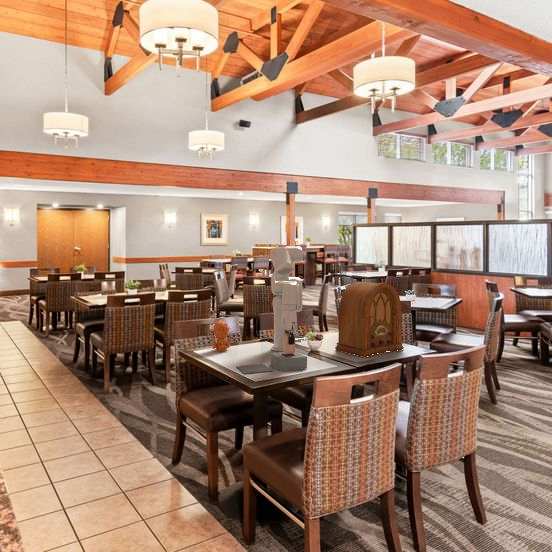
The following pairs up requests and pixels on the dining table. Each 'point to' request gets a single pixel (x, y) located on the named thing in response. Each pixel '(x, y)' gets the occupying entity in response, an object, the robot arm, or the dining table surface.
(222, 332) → the toy dinosaur
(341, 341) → the radio
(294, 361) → the grey square base
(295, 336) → the clipboard
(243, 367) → the mat
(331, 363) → the dining table surface
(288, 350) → the peach cylinder
